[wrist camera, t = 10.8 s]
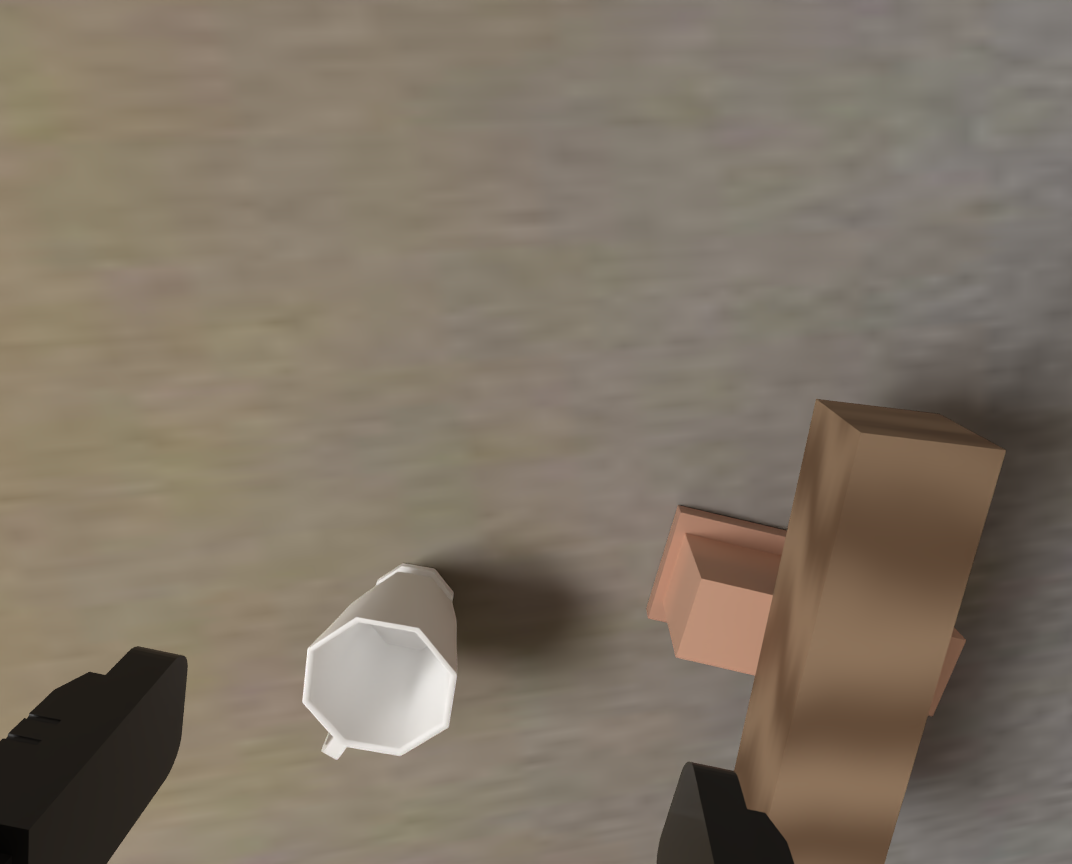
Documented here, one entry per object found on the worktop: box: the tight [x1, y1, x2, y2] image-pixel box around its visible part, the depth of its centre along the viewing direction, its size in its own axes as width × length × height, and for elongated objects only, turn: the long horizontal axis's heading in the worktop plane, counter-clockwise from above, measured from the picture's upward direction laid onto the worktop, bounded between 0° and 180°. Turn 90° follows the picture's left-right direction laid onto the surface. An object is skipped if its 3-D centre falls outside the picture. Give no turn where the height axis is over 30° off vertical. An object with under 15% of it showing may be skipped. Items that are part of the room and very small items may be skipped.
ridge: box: [646, 505, 966, 716], centre depth 37 cm, size 6×13×6 cm, turn 77°
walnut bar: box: [734, 399, 1006, 864], centre depth 32 cm, size 22×5×5 cm, turn 173°
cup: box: [302, 563, 457, 760], centre depth 38 cm, size 7×10×8 cm
